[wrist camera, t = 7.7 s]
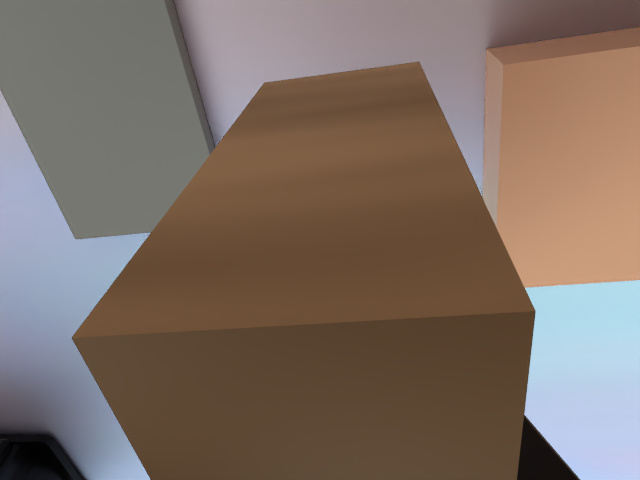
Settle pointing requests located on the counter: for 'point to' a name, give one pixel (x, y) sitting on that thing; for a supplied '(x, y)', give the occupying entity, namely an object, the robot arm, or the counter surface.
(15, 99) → the mat
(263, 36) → the counter surface
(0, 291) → the counter surface
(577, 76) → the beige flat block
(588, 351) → the counter surface
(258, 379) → the tan long block
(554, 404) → the counter surface
